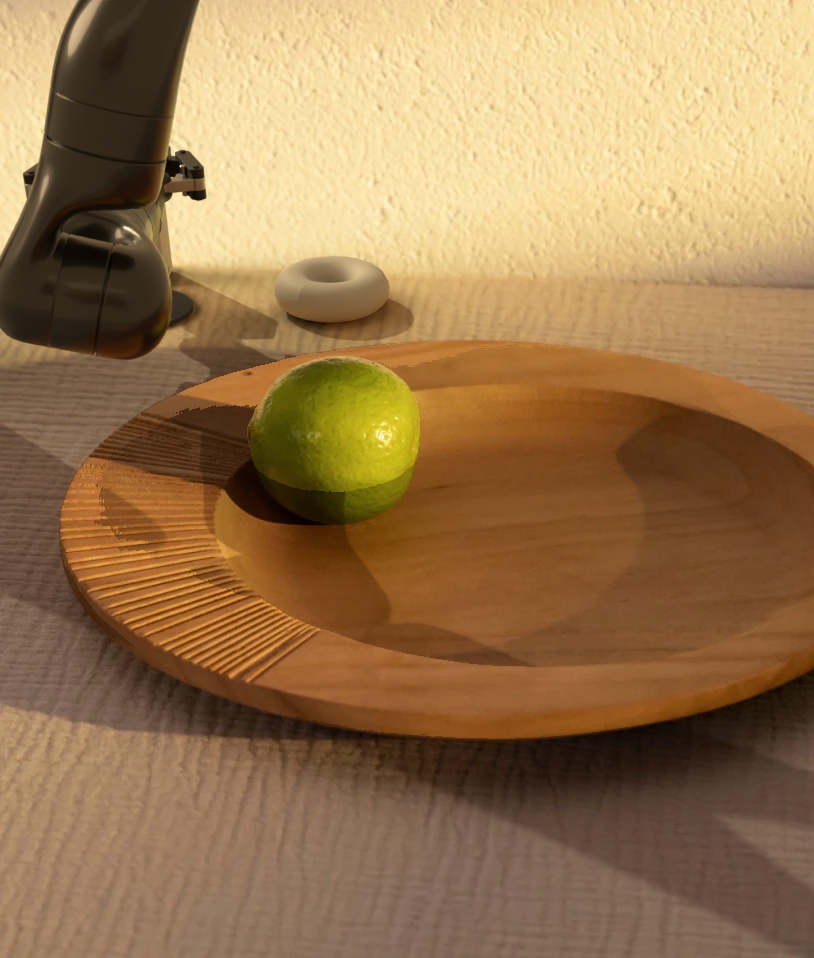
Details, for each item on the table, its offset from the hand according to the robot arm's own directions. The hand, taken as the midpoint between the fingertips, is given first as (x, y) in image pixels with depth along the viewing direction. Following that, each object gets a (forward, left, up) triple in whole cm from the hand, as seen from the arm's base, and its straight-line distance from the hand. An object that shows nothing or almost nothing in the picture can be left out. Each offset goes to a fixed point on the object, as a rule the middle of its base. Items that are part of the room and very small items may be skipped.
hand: (125, 153), depth 110 cm
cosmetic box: (-4, +4, -13) cm, 14 cm away
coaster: (+1, -2, -13) cm, 13 cm away
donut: (+15, +7, -13) cm, 21 cm away
